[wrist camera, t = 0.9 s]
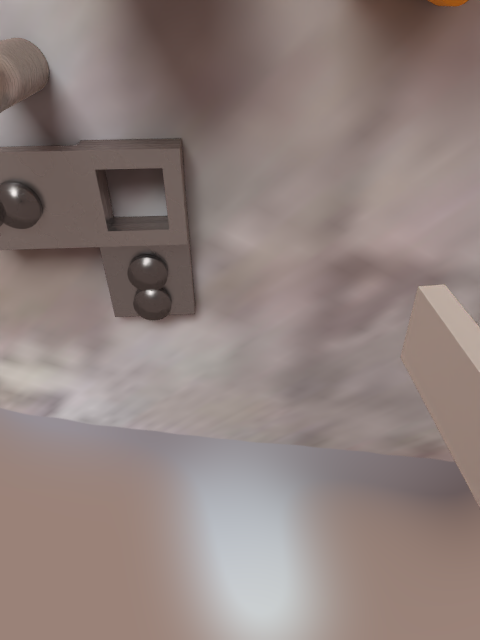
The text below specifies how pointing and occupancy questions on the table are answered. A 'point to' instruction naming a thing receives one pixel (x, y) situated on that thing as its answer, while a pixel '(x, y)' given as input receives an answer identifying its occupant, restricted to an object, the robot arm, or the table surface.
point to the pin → (20, 71)
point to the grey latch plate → (147, 263)
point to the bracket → (448, 2)
